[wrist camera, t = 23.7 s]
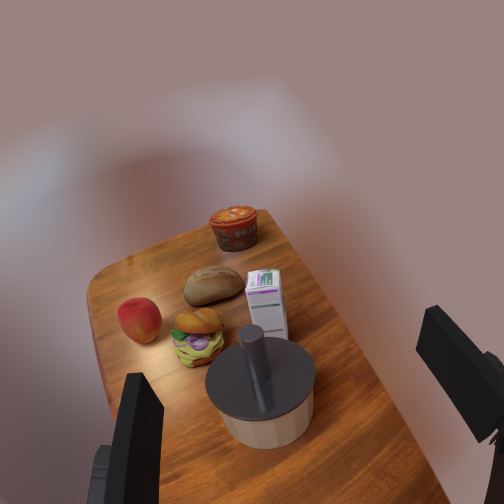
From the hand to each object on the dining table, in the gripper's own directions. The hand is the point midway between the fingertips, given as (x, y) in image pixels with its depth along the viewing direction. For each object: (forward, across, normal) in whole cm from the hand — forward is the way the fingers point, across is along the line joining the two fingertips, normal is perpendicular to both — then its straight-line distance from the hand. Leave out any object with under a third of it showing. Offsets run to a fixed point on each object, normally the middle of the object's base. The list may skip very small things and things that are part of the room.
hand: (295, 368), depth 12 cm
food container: (+83, -1, -30) cm, 88 cm away
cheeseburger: (+35, -12, -30) cm, 48 cm away
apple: (+41, -25, -30) cm, 57 cm away
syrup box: (+34, +2, -30) cm, 45 cm away
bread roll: (+53, -9, -30) cm, 62 cm away
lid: (+17, -2, -20) cm, 27 cm away
